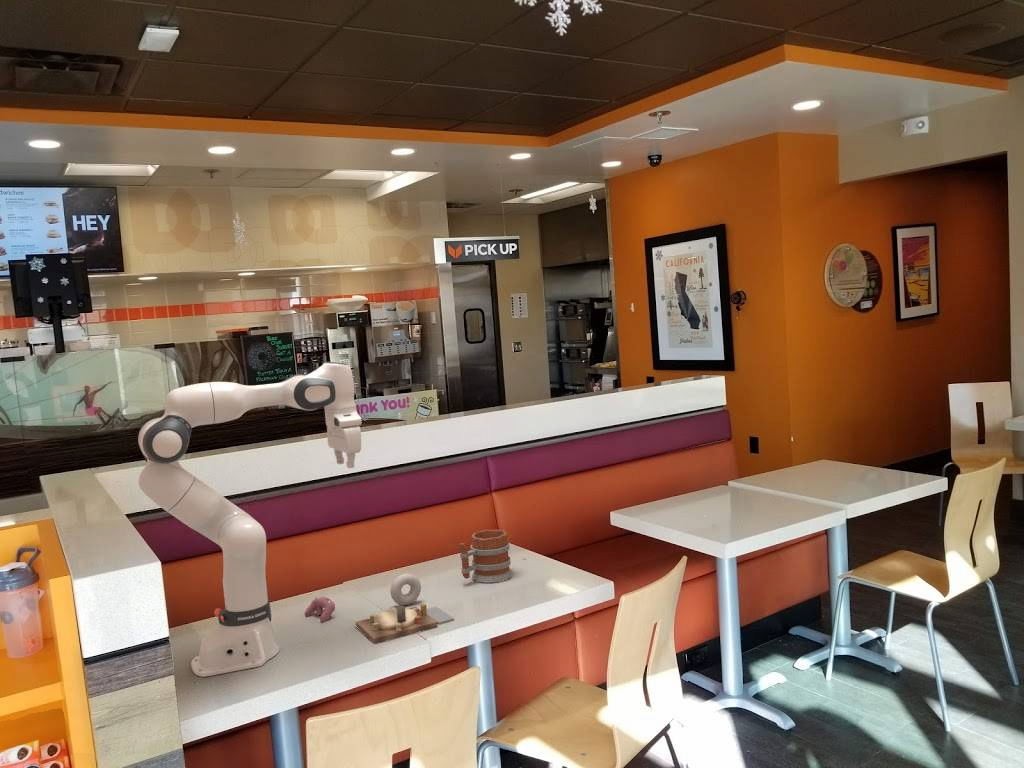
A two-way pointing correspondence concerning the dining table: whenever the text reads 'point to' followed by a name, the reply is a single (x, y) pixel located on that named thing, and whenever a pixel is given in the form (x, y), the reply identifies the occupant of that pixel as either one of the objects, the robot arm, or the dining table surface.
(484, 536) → the mug
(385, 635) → the wheel base
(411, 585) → the donut
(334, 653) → the dining table surface
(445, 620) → the donut mat
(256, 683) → the dining table surface
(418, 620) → the index wheel
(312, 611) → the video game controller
